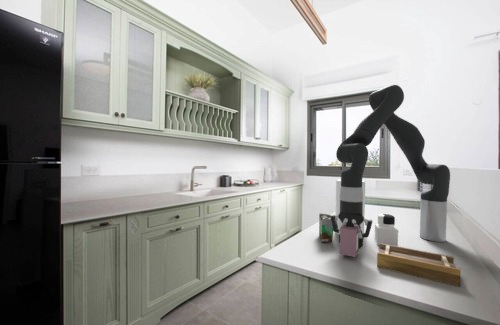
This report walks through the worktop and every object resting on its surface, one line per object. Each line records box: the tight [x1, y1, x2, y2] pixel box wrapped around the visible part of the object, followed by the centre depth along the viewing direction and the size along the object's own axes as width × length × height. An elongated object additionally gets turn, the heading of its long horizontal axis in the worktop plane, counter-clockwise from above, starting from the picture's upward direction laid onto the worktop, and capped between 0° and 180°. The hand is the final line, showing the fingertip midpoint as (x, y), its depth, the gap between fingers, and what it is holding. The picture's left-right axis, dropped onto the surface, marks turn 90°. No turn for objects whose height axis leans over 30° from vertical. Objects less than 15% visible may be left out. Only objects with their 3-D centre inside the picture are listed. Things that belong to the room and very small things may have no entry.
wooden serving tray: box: [376, 243, 462, 287], centre depth 73 cm, size 11×20×4 cm, turn 56°
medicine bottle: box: [374, 213, 399, 246], centre depth 95 cm, size 7×7×12 cm
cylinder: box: [334, 179, 366, 236], centre depth 108 cm, size 12×12×25 cm
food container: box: [318, 212, 334, 244], centre depth 99 cm, size 12×6×10 cm, turn 168°
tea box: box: [339, 226, 360, 258], centre depth 83 cm, size 10×5×9 cm, turn 146°
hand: (350, 245), depth 83 cm, fingers closed on tea box, 5 cm apart
